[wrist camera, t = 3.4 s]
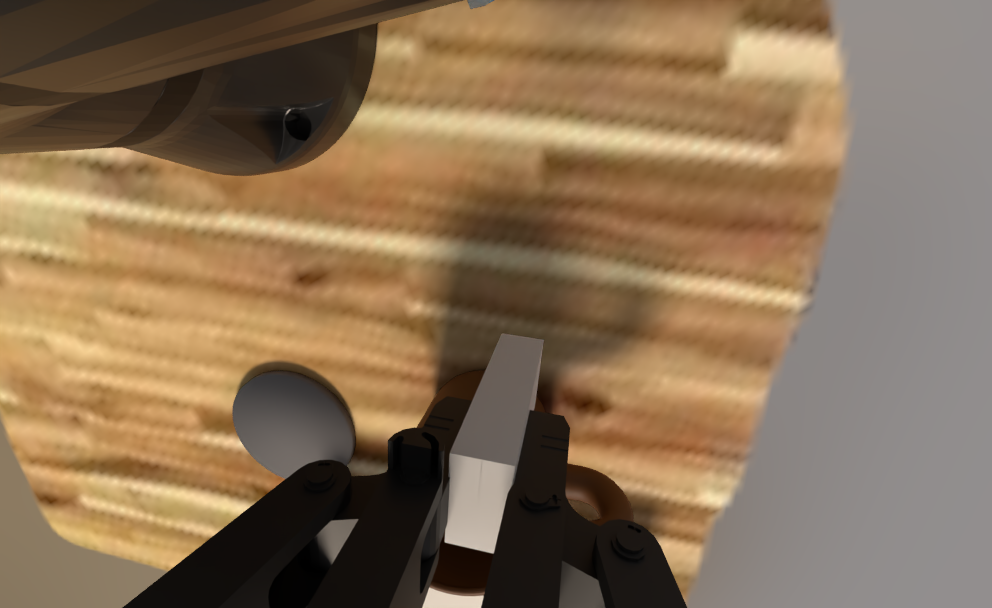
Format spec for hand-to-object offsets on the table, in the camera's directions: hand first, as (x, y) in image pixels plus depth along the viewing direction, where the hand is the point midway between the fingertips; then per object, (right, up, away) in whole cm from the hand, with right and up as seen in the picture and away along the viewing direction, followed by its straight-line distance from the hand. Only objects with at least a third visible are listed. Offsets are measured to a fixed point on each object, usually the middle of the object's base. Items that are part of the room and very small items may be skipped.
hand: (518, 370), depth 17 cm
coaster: (-15, -6, +16) cm, 23 cm away
